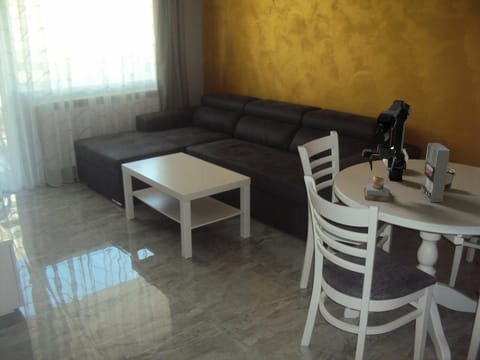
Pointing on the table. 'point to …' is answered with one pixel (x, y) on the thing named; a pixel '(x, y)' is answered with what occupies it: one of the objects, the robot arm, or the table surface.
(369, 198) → the tower base block
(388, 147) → the robot arm
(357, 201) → the table surface
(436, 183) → the grey handheld device
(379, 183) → the tan rounded piece
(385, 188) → the tower top block
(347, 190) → the table surface
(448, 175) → the food container
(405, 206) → the table surface
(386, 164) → the geodesic sphere
